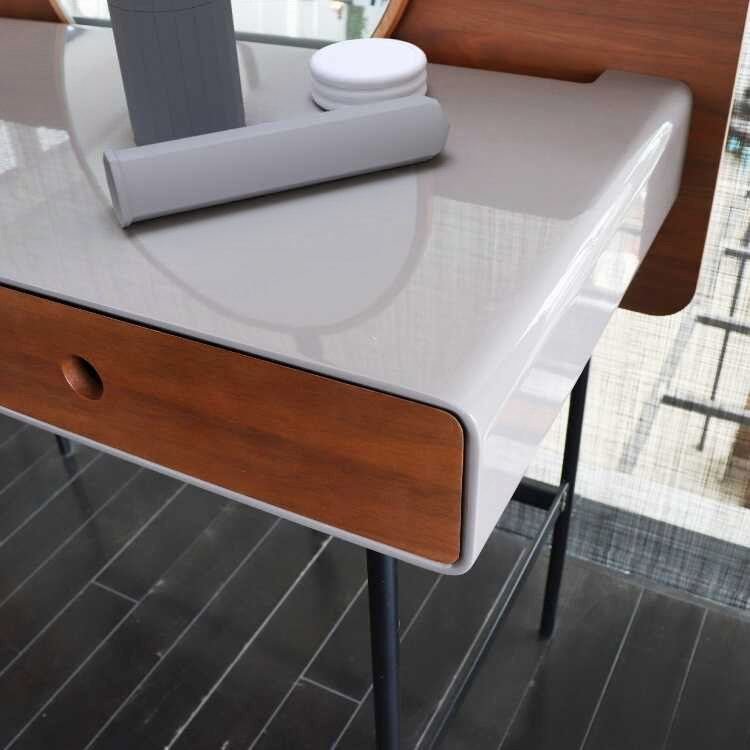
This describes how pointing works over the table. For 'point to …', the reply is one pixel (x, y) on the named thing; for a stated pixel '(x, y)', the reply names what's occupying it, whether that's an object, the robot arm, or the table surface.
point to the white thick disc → (366, 72)
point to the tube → (272, 157)
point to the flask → (178, 67)
